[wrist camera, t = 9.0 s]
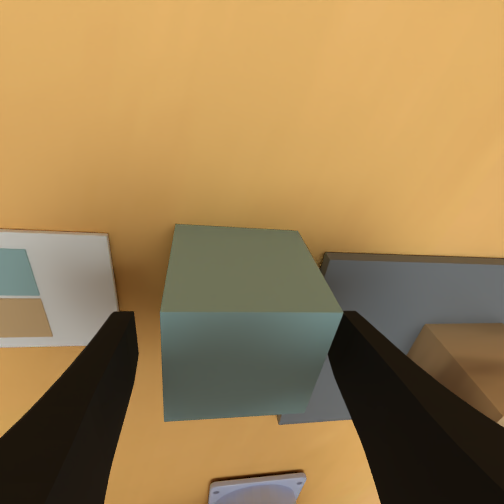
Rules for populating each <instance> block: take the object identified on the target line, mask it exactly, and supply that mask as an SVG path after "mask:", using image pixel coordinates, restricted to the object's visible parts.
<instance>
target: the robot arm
mask: <svg viewBox="0 0 504 504" xmlns="http://www.w3.org/2000/svg"><path fill="white" fill-rule="evenodd" d="M343 312H344V313H343V315H342V318H341V321H340V323H339V326H338V328H337V331H336V333H335V336H334V338H333V341H332V344H331V346H330V349H329V351H328V358H329V362H330V365H331V369H332V372H333V375H334V378H335V380H336V383H337V385H338V388H339V390H340V392H341V395H342V397H343V400H344V402H345V404H346V407H347V409H348V412H349V414H350V416H351V419H352V421H353V423H354V426H355V428H356V431H357V433H358V435H359V438H360V440H361V443H362V446H363V448H364V451H365V454H366V457H367V460H368V463H369V466H370V469H371V473H372V476H373V479H374V482H375V485H376V489H377V492H378V496H379V499H380V502H381V504H504V427H503V426H501V425H499V424H498V423H496V422H495V421H493V420H492V419H490V418H488V417H487V416H486V415H484V414H483V413H481V412H480V411H478V410H477V409H475V408H474V407H472V406H471V405H469V404H468V403H467V402H465V401H464V400H462V399H461V398H460V397H458V396H457V395H456V394H454V393H453V392H451V391H450V390H449V389H447V388H446V387H445V386H443V385H442V384H441V383H439V382H438V381H437V380H436V379H434V378H433V377H432V376H431V375H429V374H428V373H427V372H426V371H424V370H423V369H422V368H421V367H420V366H418V365H417V364H416V363H415V362H414V361H412V360H411V359H410V358H409V357H408V356H406V355H405V354H404V353H403V352H402V351H401V350H400V349H398V348H397V347H396V346H395V345H394V344H393V343H392V342H391V341H389V340H388V339H387V338H386V337H385V336H384V335H383V334H382V333H380V332H379V331H378V330H377V329H376V328H375V327H374V326H373V325H372V324H370V323H369V322H368V321H367V320H366V319H365V318H364V317H363V316H361V315H360V314H359V313H358V312H357V311H343ZM138 355H139V352H138V343H137V334H136V325H135V316H134V311H114V312H113V313H111V314H110V316H109V317H108V318H107V320H106V321H105V323H104V324H103V325H102V327H101V328H100V329H99V331H98V332H97V333H96V335H95V336H94V337H93V338H92V340H91V341H90V342H89V343H88V345H87V346H86V347H85V348H84V350H83V351H82V352H81V353H80V354H79V356H78V357H77V358H76V359H75V360H74V362H73V363H72V364H71V365H70V366H69V367H68V369H67V370H66V371H65V372H64V373H63V374H62V375H61V377H60V378H59V379H58V380H57V381H56V382H55V383H54V384H53V385H52V386H51V387H50V388H49V390H48V391H47V392H46V393H45V394H44V395H43V396H42V397H41V398H40V399H39V400H38V401H37V402H36V403H35V404H34V405H33V407H32V408H31V409H30V410H29V411H28V412H27V413H26V414H25V415H24V416H23V417H22V418H21V419H20V420H19V421H18V422H16V423H15V424H14V425H13V426H12V427H11V428H10V429H9V430H8V431H7V432H6V433H5V434H4V435H3V436H2V437H1V438H0V504H104V500H105V495H106V489H107V484H108V479H109V474H110V470H111V466H112V462H113V458H114V454H115V450H116V447H117V443H118V440H119V436H120V432H121V429H122V425H123V422H124V418H125V414H126V411H127V407H128V404H129V400H130V396H131V393H132V389H133V385H134V380H135V374H136V368H137V361H138ZM305 481H306V475H305V473H292V474H283V475H273V476H264V477H254V478H245V479H235V480H226V481H217V482H213V483H211V485H210V490H209V499H208V504H296V500H297V498H298V495H299V493H300V491H301V489H302V487H303V485H304V483H305Z"/></svg>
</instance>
